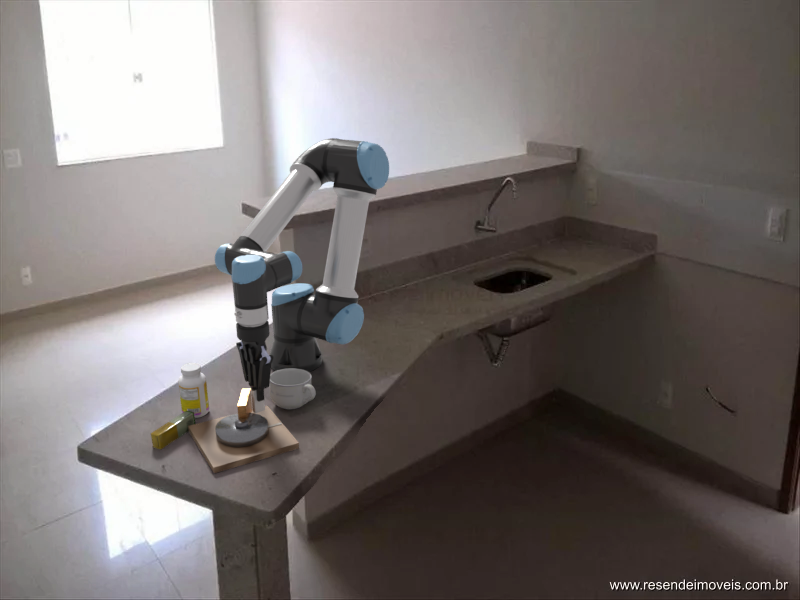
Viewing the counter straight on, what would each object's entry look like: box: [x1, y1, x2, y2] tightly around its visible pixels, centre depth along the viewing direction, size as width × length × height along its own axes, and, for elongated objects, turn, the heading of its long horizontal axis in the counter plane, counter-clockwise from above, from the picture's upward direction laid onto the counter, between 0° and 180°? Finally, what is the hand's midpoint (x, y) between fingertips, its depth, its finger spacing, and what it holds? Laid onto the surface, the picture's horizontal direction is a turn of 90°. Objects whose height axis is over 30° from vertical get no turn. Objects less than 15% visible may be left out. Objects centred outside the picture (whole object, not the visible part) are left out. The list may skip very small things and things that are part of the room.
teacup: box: [268, 368, 317, 410], centre depth 186 cm, size 14×11×8 cm
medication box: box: [150, 411, 197, 450], centre depth 173 cm, size 12×3×4 cm, turn 152°
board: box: [188, 405, 300, 474], centre depth 172 cm, size 20×20×2 cm
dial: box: [215, 387, 268, 447], centre depth 173 cm, size 16×12×6 cm
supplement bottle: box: [177, 362, 210, 419], centre depth 182 cm, size 7×7×13 cm
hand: (258, 410), depth 179 cm, fingers closed
